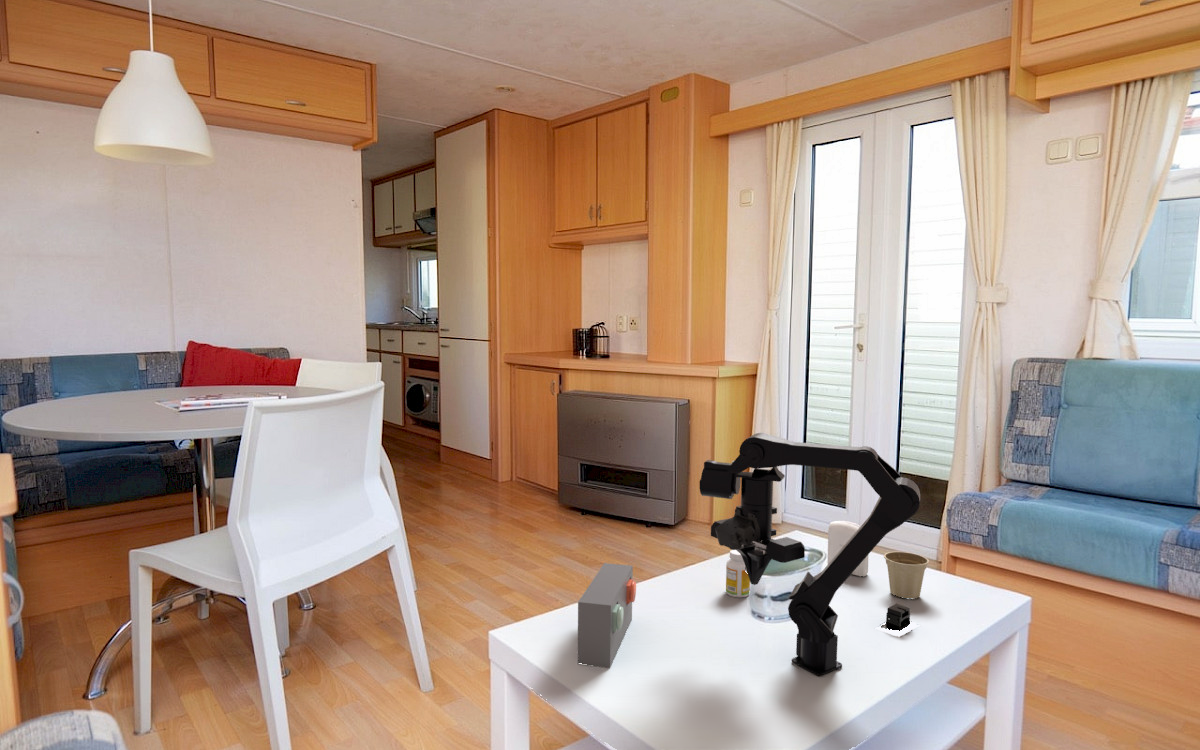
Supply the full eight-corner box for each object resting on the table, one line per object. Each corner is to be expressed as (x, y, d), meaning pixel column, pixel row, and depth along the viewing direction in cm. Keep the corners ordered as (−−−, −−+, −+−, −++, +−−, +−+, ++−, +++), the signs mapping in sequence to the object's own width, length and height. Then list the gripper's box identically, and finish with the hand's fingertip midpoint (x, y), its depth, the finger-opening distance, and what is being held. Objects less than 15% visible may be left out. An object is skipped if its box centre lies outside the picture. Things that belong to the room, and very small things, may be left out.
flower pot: (873, 589, 163) (875, 553, 163) (906, 585, 166) (908, 549, 165) (902, 605, 154) (903, 566, 154) (936, 600, 157) (938, 562, 156)
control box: (631, 619, 145) (632, 565, 144) (610, 668, 125) (610, 605, 124) (603, 616, 146) (604, 563, 146) (577, 664, 126) (578, 602, 125)
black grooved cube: (899, 645, 136) (900, 622, 136) (864, 632, 142) (865, 610, 142) (929, 627, 144) (929, 605, 144) (894, 615, 150) (895, 594, 150)
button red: (635, 597, 142) (636, 578, 142) (632, 605, 139) (632, 585, 138) (613, 595, 144) (614, 576, 143) (609, 603, 140) (609, 583, 139)
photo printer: (824, 566, 178) (826, 519, 177) (834, 563, 181) (836, 516, 180) (860, 578, 170) (862, 528, 169) (870, 575, 173) (872, 525, 172)
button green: (623, 624, 130) (623, 603, 130) (619, 633, 126) (619, 612, 126) (599, 621, 131) (599, 600, 131) (594, 630, 127) (594, 609, 127)
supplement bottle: (748, 589, 162) (749, 548, 162) (751, 598, 157) (752, 556, 156) (724, 588, 163) (725, 547, 162) (726, 597, 157) (727, 555, 157)
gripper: (690, 496, 133) (688, 577, 134) (763, 520, 117) (761, 611, 118) (732, 489, 139) (730, 566, 140) (808, 511, 123) (805, 597, 125)
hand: (754, 584), depth 131 cm, fingers closed
